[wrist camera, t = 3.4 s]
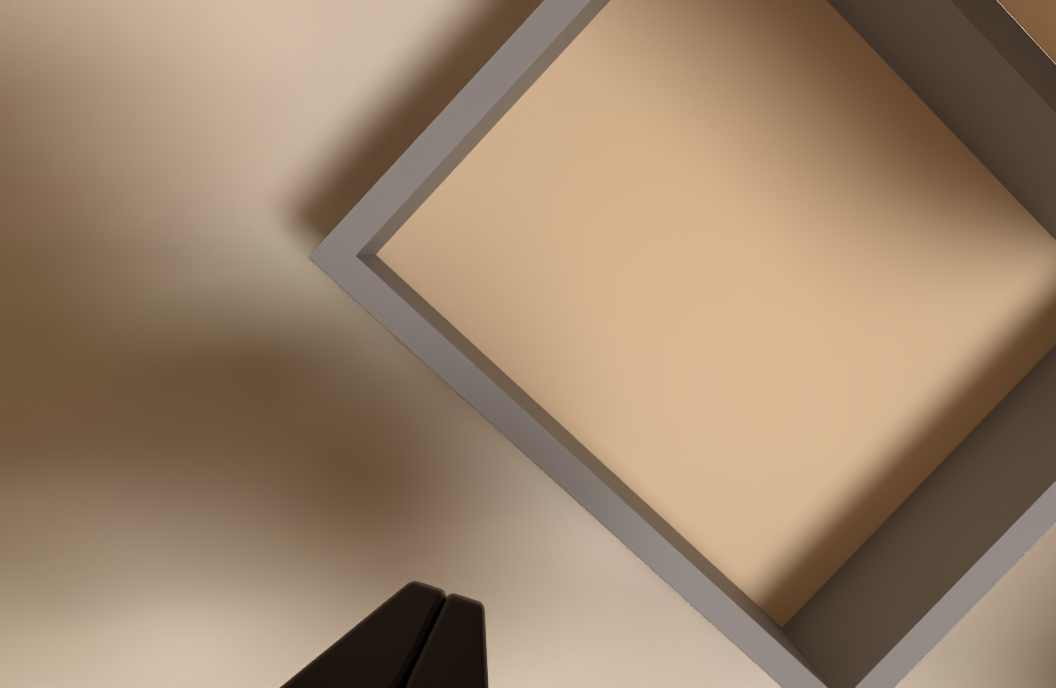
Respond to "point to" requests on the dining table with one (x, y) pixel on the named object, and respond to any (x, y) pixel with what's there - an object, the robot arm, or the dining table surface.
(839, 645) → the box
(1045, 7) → the mailer lid
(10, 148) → the dining table surface
